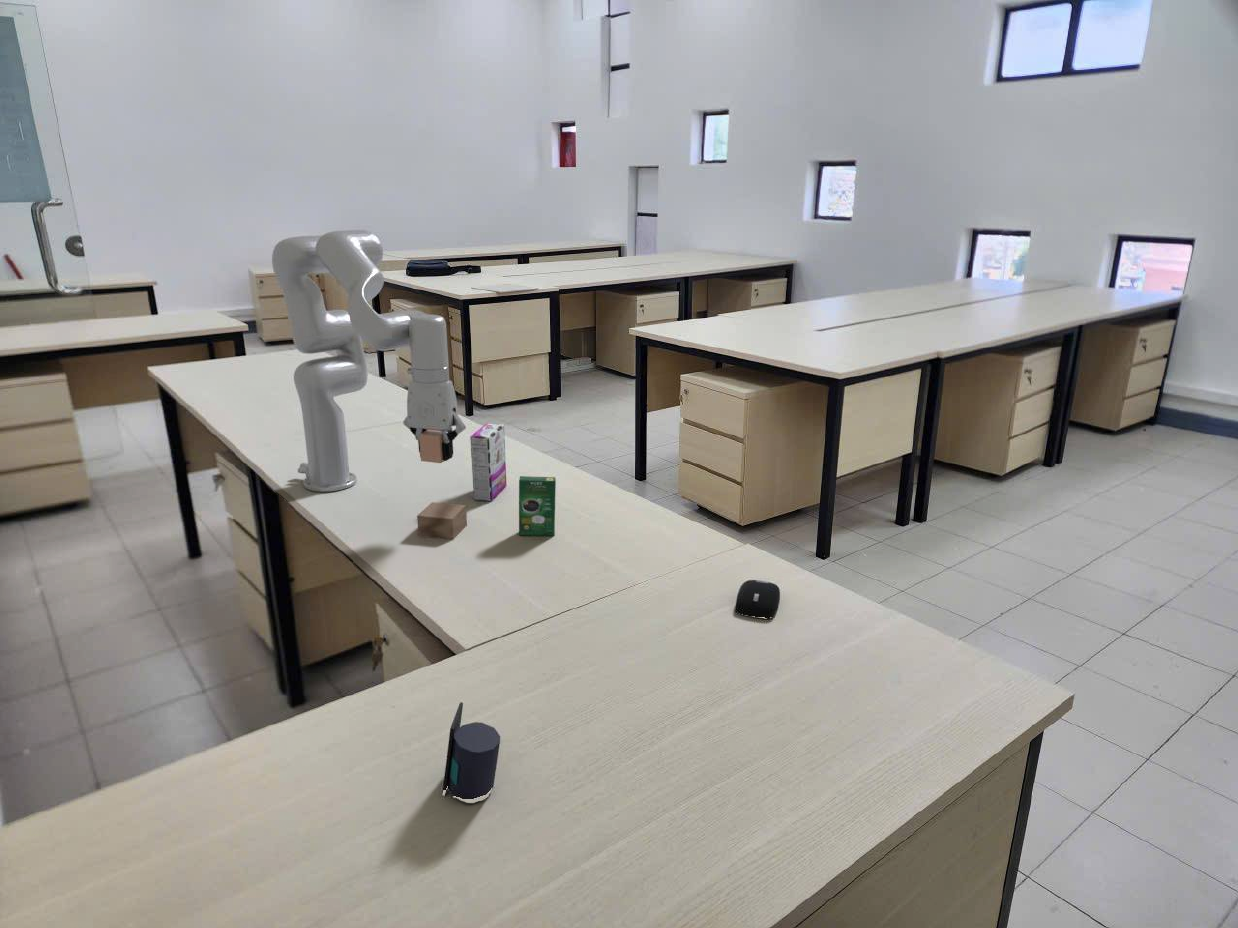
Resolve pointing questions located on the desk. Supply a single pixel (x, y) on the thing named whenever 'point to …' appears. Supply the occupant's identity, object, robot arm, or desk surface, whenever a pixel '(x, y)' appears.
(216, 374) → the desk surface
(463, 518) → the walnut block
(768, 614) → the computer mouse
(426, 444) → the peach-colored cube
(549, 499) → the coffee box
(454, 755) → the speaker
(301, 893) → the desk surface
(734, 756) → the desk surface
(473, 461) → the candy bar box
